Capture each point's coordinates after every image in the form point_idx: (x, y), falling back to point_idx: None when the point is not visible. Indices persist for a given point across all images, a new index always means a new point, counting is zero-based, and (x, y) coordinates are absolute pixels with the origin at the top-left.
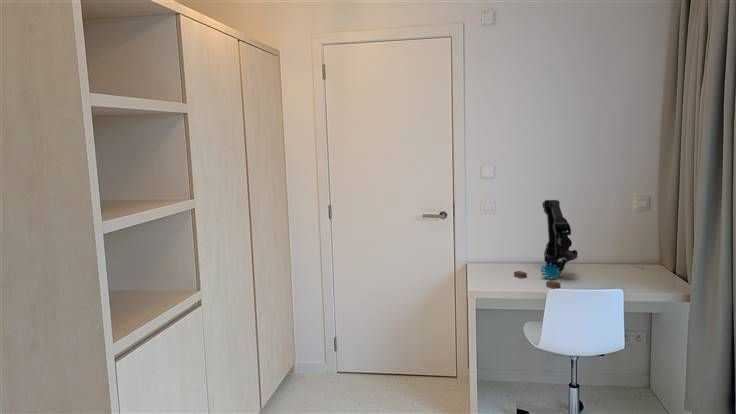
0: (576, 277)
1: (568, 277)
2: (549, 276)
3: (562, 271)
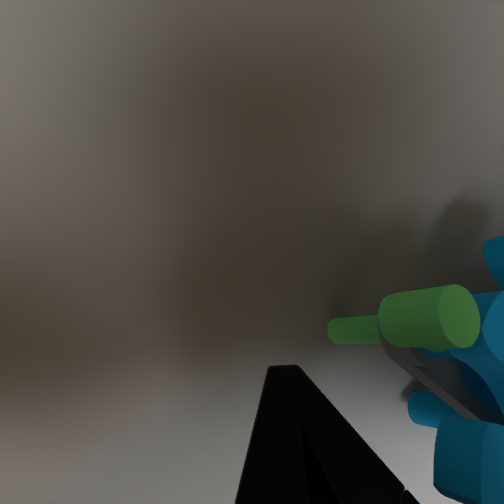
0: (7, 99)
1: (185, 209)
2: (426, 392)
3: (442, 313)
